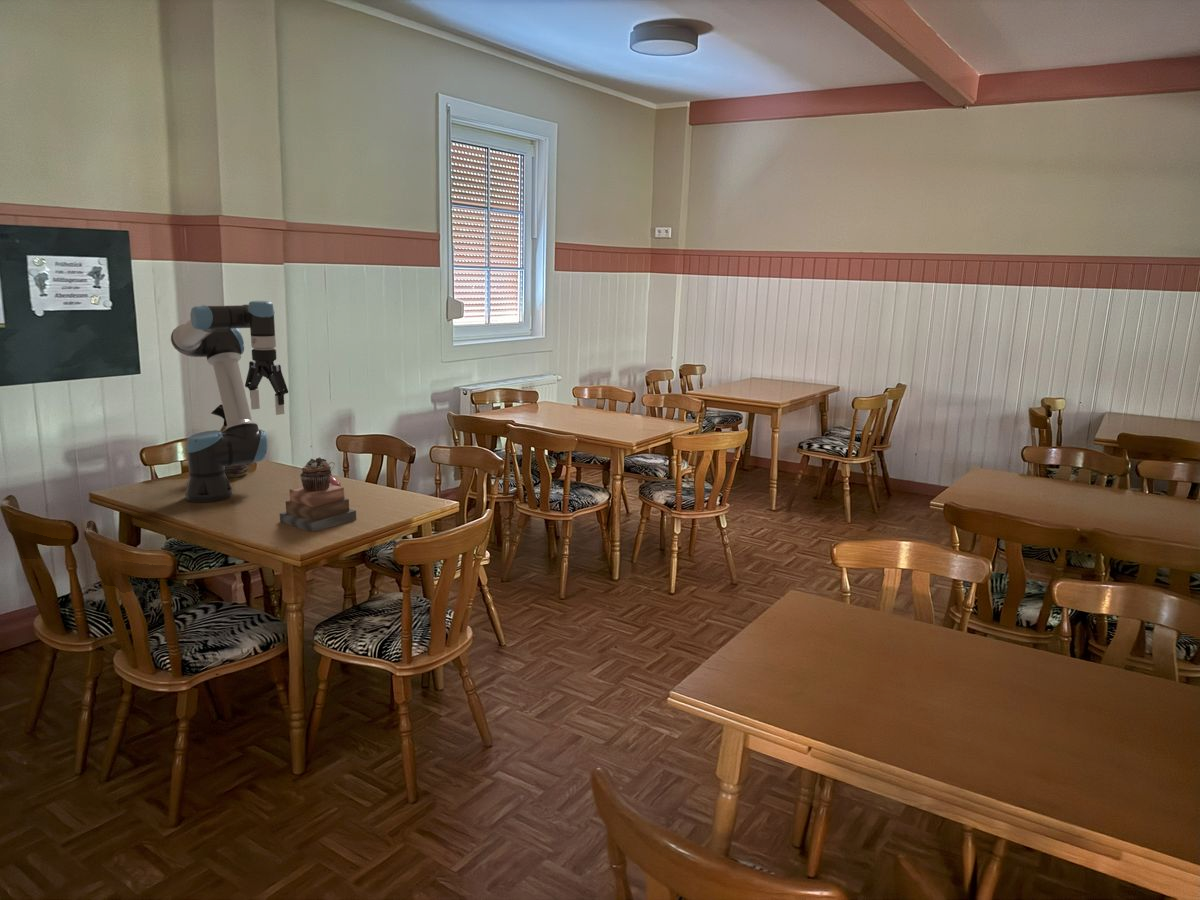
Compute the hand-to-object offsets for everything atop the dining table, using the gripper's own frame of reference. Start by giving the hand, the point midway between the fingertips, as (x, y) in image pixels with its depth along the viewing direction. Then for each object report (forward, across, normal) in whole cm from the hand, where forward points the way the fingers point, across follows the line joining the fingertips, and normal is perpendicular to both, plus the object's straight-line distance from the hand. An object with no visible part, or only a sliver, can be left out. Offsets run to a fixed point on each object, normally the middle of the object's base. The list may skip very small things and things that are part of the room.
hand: (267, 411), depth 277 cm
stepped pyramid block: (+33, +25, -1) cm, 42 cm away
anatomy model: (+34, +5, +19) cm, 39 cm away
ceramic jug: (+35, -51, +18) cm, 64 cm away
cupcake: (+22, +25, -1) cm, 33 cm away
